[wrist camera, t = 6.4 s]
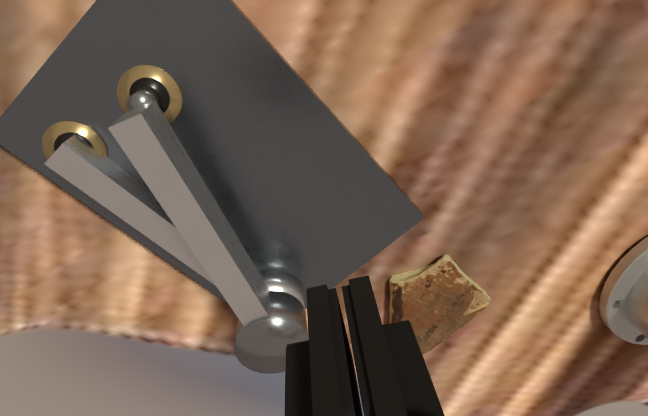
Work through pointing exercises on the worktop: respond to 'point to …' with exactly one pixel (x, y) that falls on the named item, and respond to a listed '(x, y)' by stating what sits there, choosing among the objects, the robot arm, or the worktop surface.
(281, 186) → the divider base plate
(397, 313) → the shard
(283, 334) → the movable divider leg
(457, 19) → the worktop surface
